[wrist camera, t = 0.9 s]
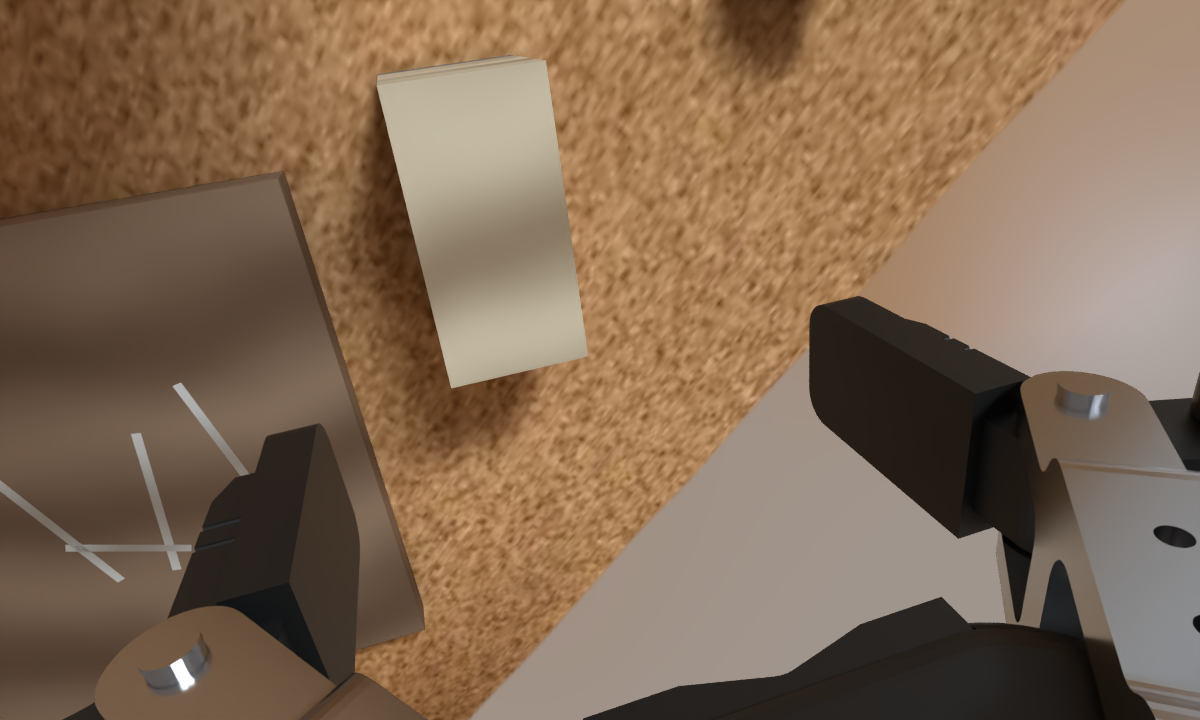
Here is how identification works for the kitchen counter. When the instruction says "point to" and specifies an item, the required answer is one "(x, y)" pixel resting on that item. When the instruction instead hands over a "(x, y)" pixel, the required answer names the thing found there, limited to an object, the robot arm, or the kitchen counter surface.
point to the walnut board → (158, 419)
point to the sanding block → (487, 213)
